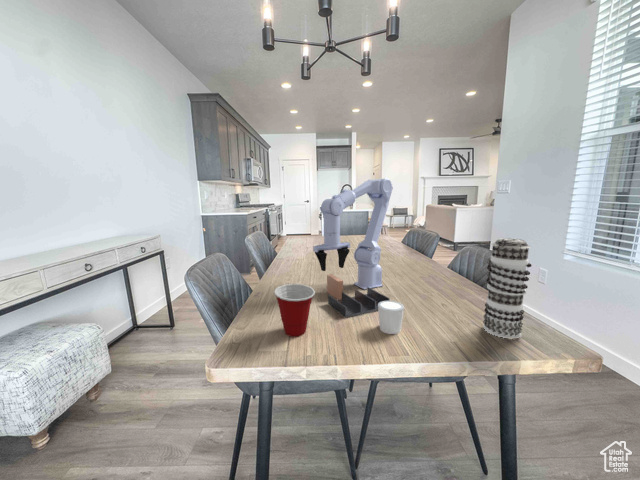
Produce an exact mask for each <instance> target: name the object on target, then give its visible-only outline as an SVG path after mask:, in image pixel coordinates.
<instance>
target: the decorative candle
mask: <svg viewBox="0 0 640 480" xmlns="http://www.w3.org/2000/svg"><path fill="white" fill-rule="evenodd" d="M491 245H492V250H491V255H490V258H489V259H487V261H486V263H487V266H486V269H487V271H488V272H487V273H486V277H487V278H486V283H487V285H486V288H487V291H488V294H487V297H486V302H485V303H484V306H485V308H484V310H483V311H484V315H483V318H484V319H483V321H482V322H483V326H482V329H483V328H484V329H485V330H484V329H483V330H484V331H485V332H486V331H487V332H486V333H488V334H489V333H490V335H491V334H492V336H494V335H495V336H494V337H496V336H498V337H497V338H500V337H503V338H502V339H504V338H519V337H520V338H522V333H523V332H522V331H523V329H522V328H523V325H524V323H523V320H524V316H523V315H524V313H525V310H524V301H523V300H524V295H527V289H528V284H526V283H525V282H528V281H530V277H528V276H530V275H531V272H530V271H529V270H528V269H527V268H531V267H532V264H531V263H530V262H529V250H530V249H532V247H531V246H530V245H528V244H527V242H526V240H524V239H520V238H511V237H501V238H498V239H496V240H495V242H493V243H491ZM520 338H519V339H520Z"/></svg>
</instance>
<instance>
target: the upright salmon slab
mask: <svg viewBox="0 0 640 480" xmlns="http://www.w3.org/2000/svg"><path fill="white" fill-rule="evenodd" d="M326 290H327V291H326V292H327V293H328V294H329V295H331V296H332V297H333V298H335V299H336V300H340V299H342V292H344V280H342V279H340V278H339V277H337V276H335V275H334V274H332V273H331V274H327V275H326Z"/></svg>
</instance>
